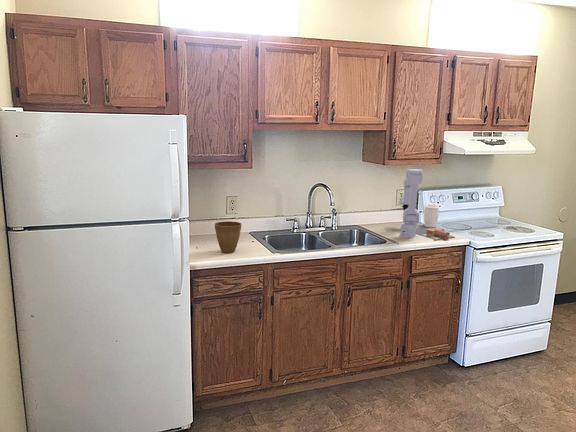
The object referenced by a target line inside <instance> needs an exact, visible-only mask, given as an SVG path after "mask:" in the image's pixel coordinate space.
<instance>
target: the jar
mask: <svg viewBox="0 0 576 432" xmlns="http://www.w3.org/2000/svg"><path fill="white" fill-rule="evenodd" d="M439 208H440V206H439V205H435V204H434V205H433V204H424V211H423V222H424V225H423V226H424V227H427V228H436V227H437V223H438V219H439V215H440V214H439V213H440V210H439Z"/></svg>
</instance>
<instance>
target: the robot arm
mask: <svg viewBox="0 0 576 432" xmlns="http://www.w3.org/2000/svg"><path fill="white" fill-rule="evenodd" d="M423 173H424V171H423V169H421V168H419V169H416V168H407V169H406V171H405V178H404V179H403V187H404V189H403V200H399V201H398V204H399V205H402V206H401V207H402V209H403V214H402V222H403V224H401V226H400V230H399V231H400V232H399V235H398V236H399V237H401V238H405V239H410V238H417V237H419V235H417V234H415V233H416V228H417V224H418V223H419V222H420V212H419V210H418V209H417V198H418V196H417V195H418V188H419V185H420V184H422V182H423V175H424V174H423Z"/></svg>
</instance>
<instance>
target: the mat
mask: <svg viewBox="0 0 576 432" xmlns="http://www.w3.org/2000/svg"><path fill="white" fill-rule="evenodd" d="M427 230H428V228H425V227H424V228H423V227H416V233H415V235H416V236H421V237H425V238H427V239H432V240H433V241H434V242H435V241H442V240H444V239H443V238H439V237H436V236H434V237H429V236H426V232H427ZM449 239H455V236H453V235H449Z"/></svg>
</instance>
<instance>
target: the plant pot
mask: <svg viewBox="0 0 576 432" xmlns="http://www.w3.org/2000/svg"><path fill="white" fill-rule="evenodd" d="M214 230H215V234H216V240H217V243H218V246H219V248H220V251H221V253H223V254H234V253H235V251H236V249H237V246H238V244H239V239H240V237H241V231H242V223H241V222H238V221H230V220H228V221H227V220H225V221H217V222H216V223H214Z"/></svg>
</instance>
